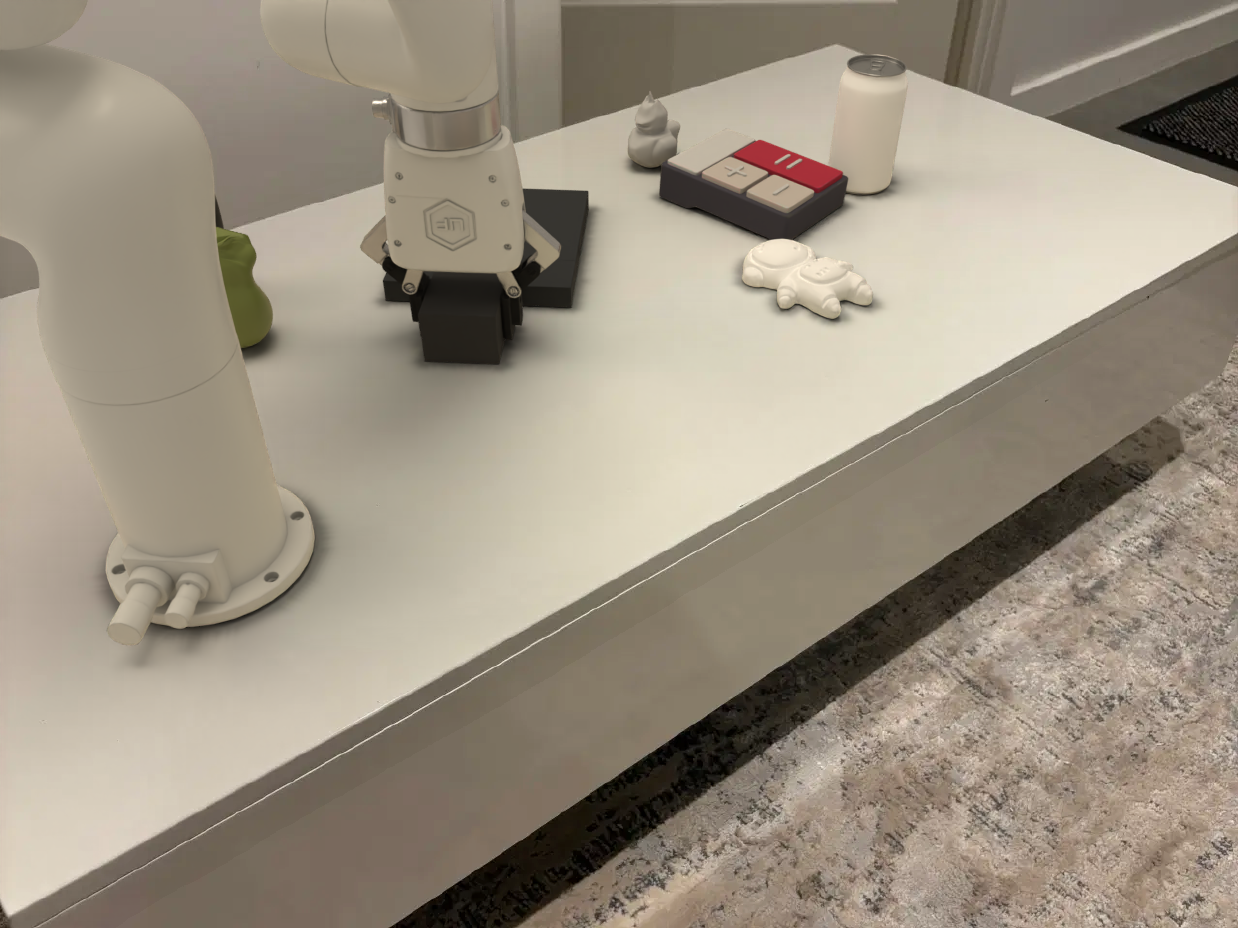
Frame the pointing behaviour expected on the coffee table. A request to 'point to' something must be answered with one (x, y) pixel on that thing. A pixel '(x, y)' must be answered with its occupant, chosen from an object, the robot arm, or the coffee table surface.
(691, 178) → the calculator
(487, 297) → the black block
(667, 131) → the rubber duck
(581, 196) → the base pad
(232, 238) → the pear
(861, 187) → the can
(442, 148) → the robot arm
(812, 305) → the astronaut figurine
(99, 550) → the coffee table surface
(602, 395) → the coffee table surface
